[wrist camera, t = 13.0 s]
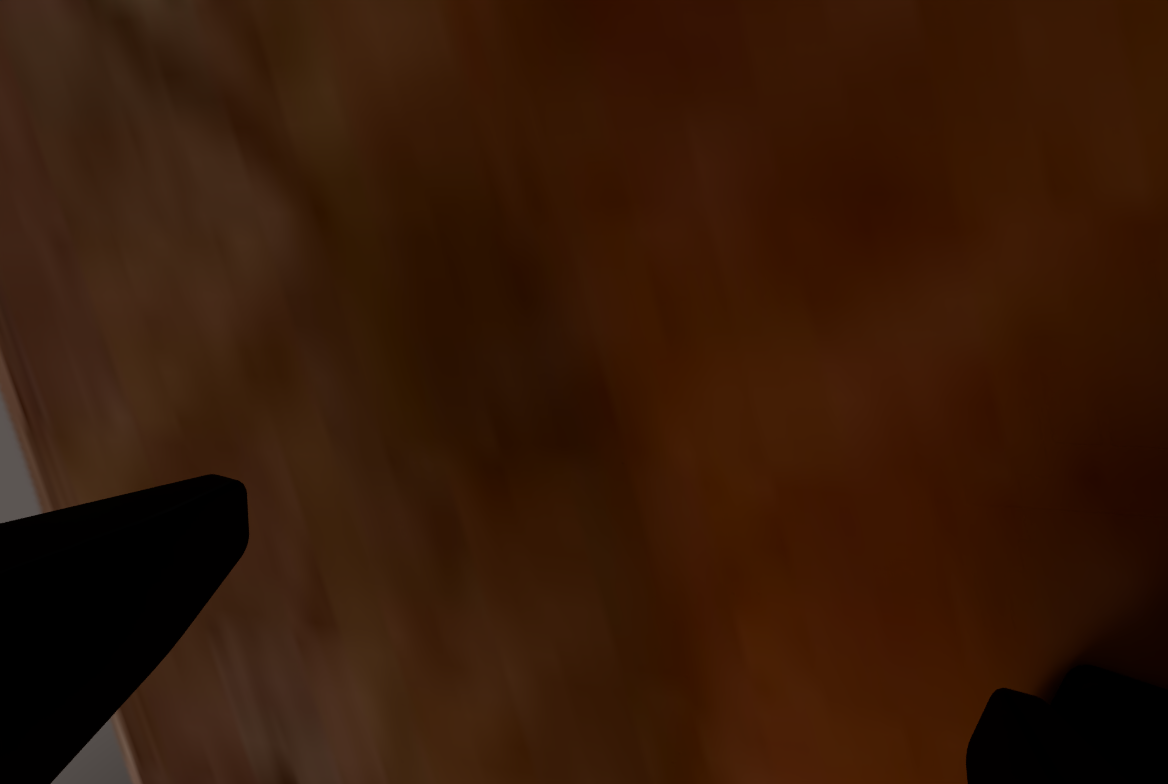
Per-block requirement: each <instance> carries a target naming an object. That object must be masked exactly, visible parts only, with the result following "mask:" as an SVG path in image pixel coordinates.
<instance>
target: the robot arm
mask: <svg viewBox="0 0 1168 784" xmlns="http://www.w3.org/2000/svg"><path fill="white" fill-rule="evenodd" d="M248 539H249V524H248V505H247V491H246V488H245V486H244V484H243V483H241V482H240V481H238V480H235V479H231V478H227V477H224V476H220V475H215V474H209V475H204V476H200V477H196V478H192V479H187V480H183V481H179V482H175V483H170V484H166V485H162V486H158V487H153V488H149V489H145V490H141V491H136V492H132V493H128V494H124V495H119V496H115V497H111V498H107V499H102V500H98V501H94V502H90V503H85V504H81V505H77V506H73V507H69V508H64V509H60V510H56V511H52V512H47V513H43V514H39V515H35V516H31V517H26V518H22V519H18V520H13V521H9V522H5V523H1V524H0V784H51V783H52V781H53V780H54V779H55V778H56V777H57V776H58V775H59V774H60V773H61V771H62V770H63V769H64V768H65V767H66V766H67V765H68V764H69V763H70V762H71V761H72V759H73V758H74V757H75V756H76V755H77V754H78V753H79V752H80V750H82V748H83V747H84V746H85V745H86V744H87V743H88V742H89V741H90V739H92V737H93V736H94V735H95V734H96V733H97V732H98V731H99V730H100V729H101V727H102V726H103V725H104V724H105V723H106V722H107V721H108V720H109V719H110V718H111V717H112V715H113V714H114V713H115V712H116V711H117V710H118V709H119V708H120V707H121V705H122V704H123V703H124V702H125V701H126V700H127V699H128V698H129V697H130V696H131V694H132V693H133V692H134V691H135V690H136V689H137V688H138V687H139V686H140V685H141V683H142V682H143V681H144V680H145V679H146V678H147V677H148V676H149V675H150V674H151V672H152V671H153V670H154V669H155V668H156V667H157V666H158V665H159V663H160V662H161V661H162V660H163V659H164V658H165V657H166V655H167V654H168V653H169V652H170V651H171V649H172V648H173V647H174V646H175V644H176V643H177V642H178V641H179V639H180V638H181V637H182V635H183V634H184V633H185V631H186V630H187V629H188V627H189V626H190V625H191V623H192V622H193V621H194V619H195V618H196V617H197V615H198V614H199V613H200V611H201V610H202V609H203V607H204V606H205V605H206V603H207V602H208V601H209V599H210V598H211V597H212V595H213V594H214V593H215V591H216V590H217V589H218V587H219V586H220V585H221V583H222V582H223V581H224V579H225V578H226V577H227V575H228V574H229V573H230V571H231V570H232V569H233V567H234V566H235V565H236V563H237V562H238V561H239V559H240V558H241V557H242V555H243V553H244V551H245V549H246V547H247V544H248ZM1087 683H1097V685H1096V686H1095V687H1094V688H1091V689H1082V688H1081V687H1082V686H1083V685H1084V684H1087ZM966 770H967V780H968V784H1168V690H1166V689H1163V688H1160V687H1157V686H1154V685H1151V684H1148V683H1145V682H1141V681H1138V680H1135V679H1132V678H1129V677H1126V676H1123V675H1120V674H1117V673H1114V672H1111V671H1108V670H1105V669H1102V668H1098V667H1095V666H1090V665H1082V666H1077V667H1075V668H1073V669H1071V670H1070V671H1069V672H1068V674H1067V675H1066V677H1065V678H1064V680H1063V682H1062V684H1061V686H1060V688H1059V689H1058V691H1057V693H1056V695H1055V697H1054V699H1053V700H1052V702H1051V704H1050V706H1049V705H1048V704H1047V703H1046V702H1045V701H1044V700H1042V699H1041V698H1039V697H1037V696H1033V695H1030V694H1026V693H1022V692H1018V691H1015V690H1011V689H1007V688H1000V689H997V690H996V691H995V692H994V693H993V694H992V695H991V697H990V699H989V701H988V703H987V705H986V707H985V709H984V711H983V713H982V716H981V718H980V720H979V722H978V724H977V726H976V728H975V730H974V733H973V735H972V737H971V739H970V741H969V744H968V748H967V754H966Z"/></svg>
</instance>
